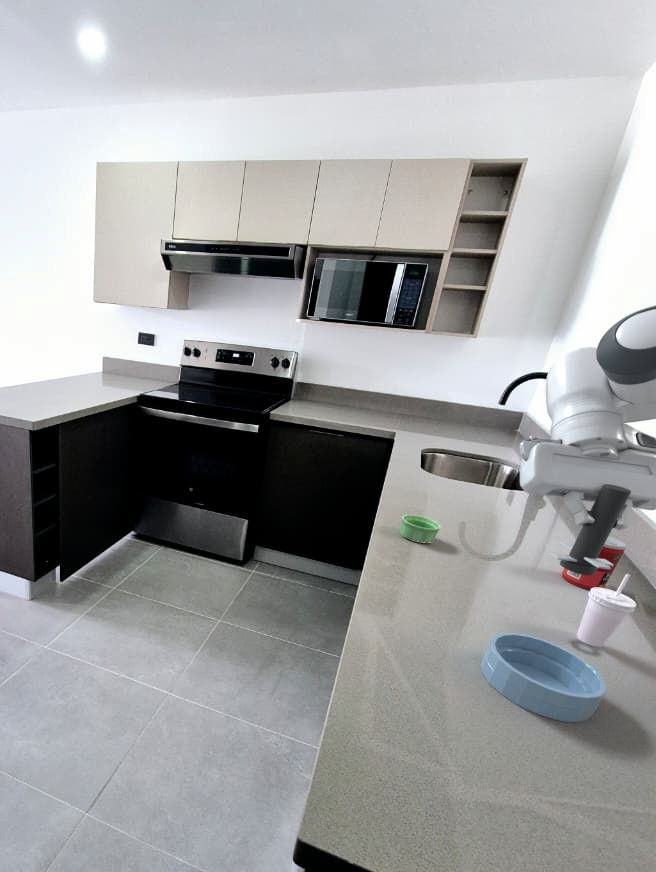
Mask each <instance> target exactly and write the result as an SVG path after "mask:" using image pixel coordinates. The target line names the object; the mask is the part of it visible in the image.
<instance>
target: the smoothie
mask: <svg viewBox="0 0 656 872" xmlns="http://www.w3.org/2000/svg"><path fill="white" fill-rule="evenodd" d="M630 577H631V574H630V573H626V574H625V575H624V577H623V579H622V581H621V582H620V584H619V587H618V588H617V590H613V589H610V588H605V587H604V588H599V587H594V588H592V589H591V590H589V592H588V594H587V595H588V596H589V597H588V600H587V603H586V606H585V610H584V612H583V615H582V619H581V620H580V621H581V622H580V624H579V627H578V630H577V632H576V638H577V639H578V640H580V641H581V642H583V643H584V644H587V645H588V646H591V647H595V648H602V647H603V646H604V645H605V644H606V643H607V641H608V640H609V639H610V637H611V636H612V635H613V634H614V633H615V632H616V630H617V629H618V628H619V627H620V625H621V624H622V623H623V622H624V620H625V619H626V618H627V616H629V614H630V613H632V612H634V611H636V610H635V609H636V608H637V603H636V601H634V600H633V599H632V598H631V597H629V596H627V595H625V594H623V593H622V591H623V590H624V588H625V586H626V585H627V583H628V581H629V579H630Z"/></svg>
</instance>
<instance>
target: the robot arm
mask: <svg viewBox="0 0 656 872" xmlns="http://www.w3.org/2000/svg"><path fill="white" fill-rule="evenodd" d="M545 403H546V412H547V415H548V417H549V418H550V420H551V425H550V431H549V433H550V435H549V436H550V437H540V436H536V435H532V436H529V437H528V438H524V439H522V440H521V442H520V443H519V453H520V457H521V460H520V466H519V467H520V468H519V485H520V487H521V489H522V490H523V491H524V492H525V493H526V494H532V495H538V496H545V497H554V498H560V499H562V500H563V504H564V505H565V506H566V508H567V509H568V510H569V511H570V513H571V514H572V515H573V517H574V523H575V525H577V526H582V527H583V526H589V525H590V524H593V523H594V521H595V518H594V517H593V516H594V513H593V511H591V510H588V508H587V506H586V505H585V504H584V502H589V503H594V502H595V500H596V498H597V496H598V494H599V492H600V490H601V488H602V486H603V485H604V484H610V485H615V486H619V487H623V488H626V489H628V490H630V491H631V493H630V495H629V497H628V499H627V501H626V503H625V505H624V507H623V509H622V511H621V513H620V515H619V517H618V519H617V521H616V523H615V525H614V526H613V528H612V530H611V531H618V532H622V531H623V530H625V529H627V528H628V525H629V524H628V519H627V516H628V515H629V513H630V512H631V510H632V509H639V510H645V511H655V510H656V437H655V436H653V435H650V434H648V433H645V432H642V431H641V430H638V429H636V428H634V427H633V426H631V425H629V423H637V422H644V421H650V420H656V304H655V305H652V306H649V307H645V308H642V309H639V310H636V311H633V312H632V313H630V314H627V315H626V316H624V317H623V318H621V319H619V320H618V321H617V322H616V323H614V324H613V325H612V326H611V327H610V328H609V329H607V331H606V332H605V333H604V334H603V335H602V337H601V338H600V339H599V342H598V344H597V347H595V346H594V347H593V346H586V347H580V348H577V349H574V350H571V351H569V352H567V353H566V354H563V355H562V356H560V358H558V359H557V360H556V361H554V363H553V364H552V366H551V367H550V368H549V370H548V373H547V376H546V380H545Z"/></svg>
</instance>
